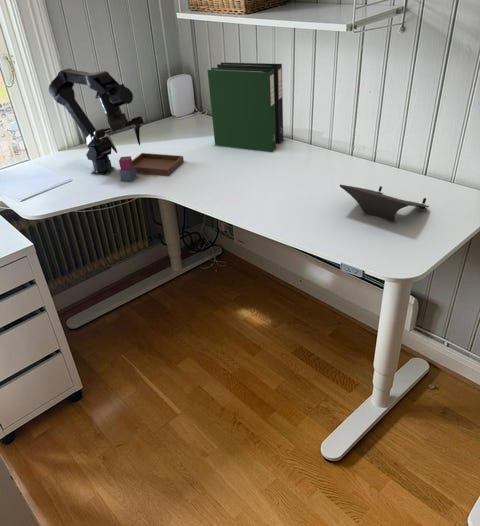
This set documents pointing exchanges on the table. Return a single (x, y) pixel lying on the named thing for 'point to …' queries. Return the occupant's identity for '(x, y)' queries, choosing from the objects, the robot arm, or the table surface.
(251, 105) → the binder
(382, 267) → the table surface
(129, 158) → the mulberry block
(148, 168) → the tray
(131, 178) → the slate block
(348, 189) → the laptop tray
